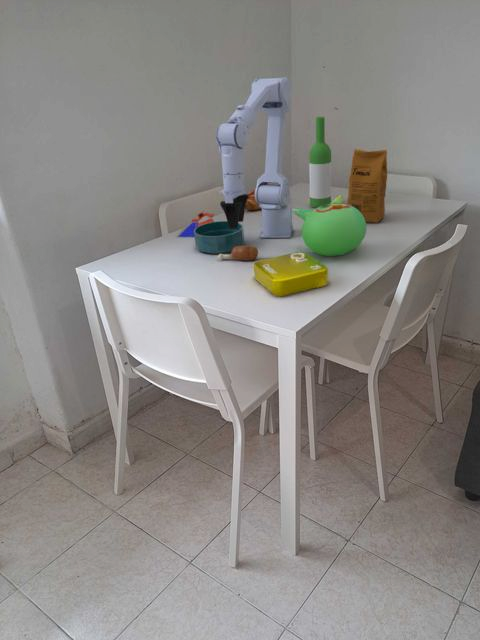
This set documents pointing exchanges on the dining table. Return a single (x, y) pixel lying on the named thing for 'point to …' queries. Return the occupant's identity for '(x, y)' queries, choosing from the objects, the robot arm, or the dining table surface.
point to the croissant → (252, 202)
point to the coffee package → (368, 184)
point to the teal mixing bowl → (218, 237)
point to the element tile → (290, 273)
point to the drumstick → (241, 253)
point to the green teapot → (332, 228)
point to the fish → (197, 224)
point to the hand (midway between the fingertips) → (236, 224)
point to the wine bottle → (320, 168)
